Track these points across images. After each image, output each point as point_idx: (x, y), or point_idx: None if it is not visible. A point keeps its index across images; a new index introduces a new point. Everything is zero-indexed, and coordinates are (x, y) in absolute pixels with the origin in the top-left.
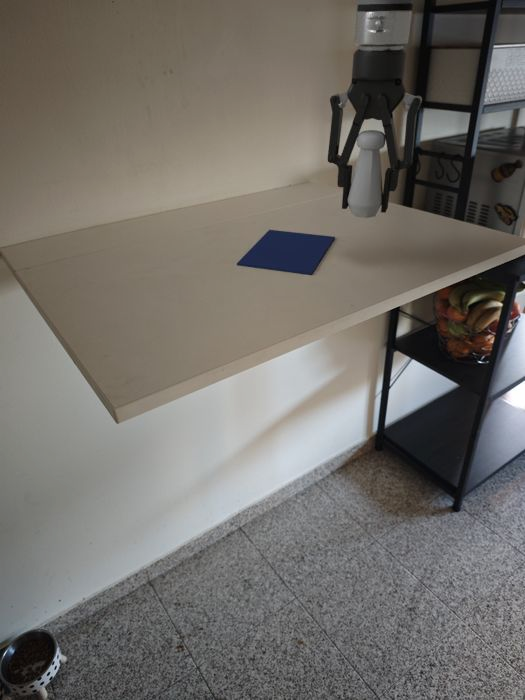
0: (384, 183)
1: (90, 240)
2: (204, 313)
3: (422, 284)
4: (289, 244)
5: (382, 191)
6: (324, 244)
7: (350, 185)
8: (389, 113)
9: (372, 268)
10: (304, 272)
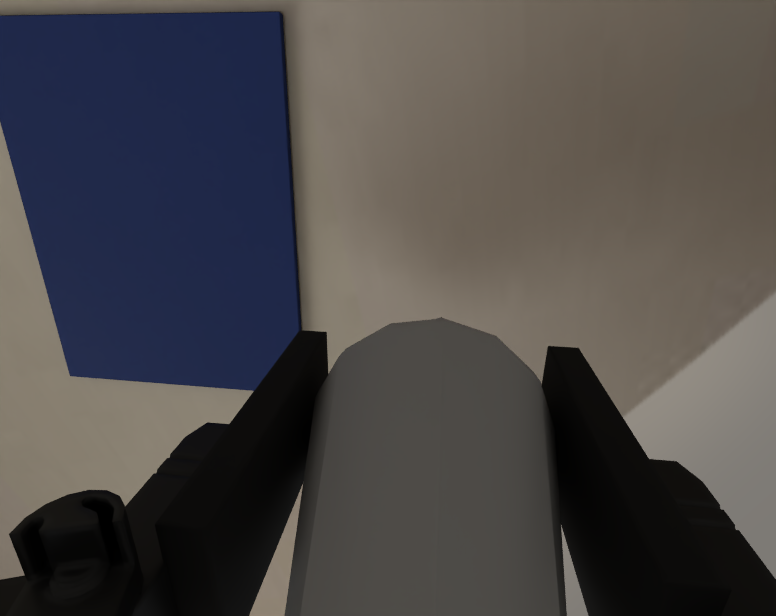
0: (585, 596)
1: None
2: None
3: (662, 382)
4: (137, 177)
5: (556, 473)
6: (264, 133)
7: (286, 414)
8: None
9: (488, 299)
10: None
